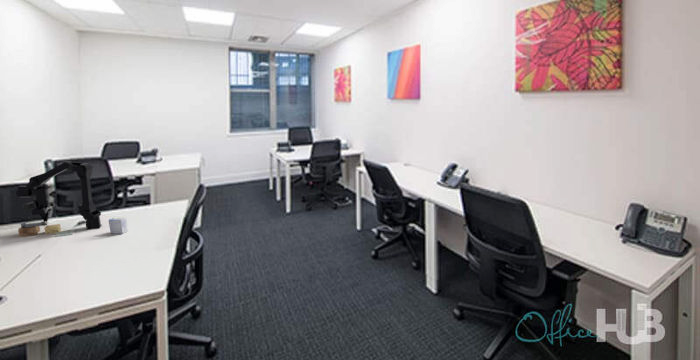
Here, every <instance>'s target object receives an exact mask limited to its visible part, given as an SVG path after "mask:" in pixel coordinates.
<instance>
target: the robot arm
mask: <svg viewBox="0 0 700 360" xmlns="http://www.w3.org/2000/svg"><path fill="white" fill-rule="evenodd" d="M93 169H94V168H93V166H92V164H90V163H89V162H84V163H82V162H76V161H71V160H67V161H64V162H62V163H60V164H58V165H57V166H55V167H53V168H52V169H49V170H47V171H46V172H44V173H40V174H37V175H34V176H31V177H30V178H29V179H28V180H29V181H28V183H27V184H26V185H19V186H18V185H17V190H16V192H15V194H16V197H18V198H32V197H34V199H33V200H32V201H31V202H26V203H24V204H22V207H21V208H22V210H25V211H26V212H27V211H29V210H31V211H30V215H31V216H38V215H39V216H40V217H41V219H42V220H43V221H47V222H48V221H49V218H50V215H51V212H52V211H53V208H54V207H56V203H55V202H54V201H50V200H49V199H50V196H48V191H47V190H49V189H51V186H49V185H47V184H46V183H47V182H49V181H50V180H51V179H52V178H53V177H55V176H58V175H59V174H61V173H63V172H65V171H66V170H69V171H71V172H76V176H77V177H78V178H79V180H80V189H81V190H80V192H81V204H79V205H78V206H77V208H78V213H79V215H80V216H82V218H83V220H84V221H85V227H86V230H95V229H100V228H101V227H102V225H103V224H101V222H102V221H101V215H102V212H101V211H100V210H98V209H97V207H96V204H95V203H94V202H93V197H92V196H93V195H92V183H91V177H92V175H93ZM49 207H52V208H49Z"/></svg>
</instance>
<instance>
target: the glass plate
mask: <svg viewBox="0 0 700 360" xmlns="http://www.w3.org/2000/svg"><path fill="white" fill-rule="evenodd" d="M75 232H76V229H74V230H73V229H72V230H65V231H60V232H58V233H55V235H54V238H56V237H65V236H72V235H73V234H75Z"/></svg>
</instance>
